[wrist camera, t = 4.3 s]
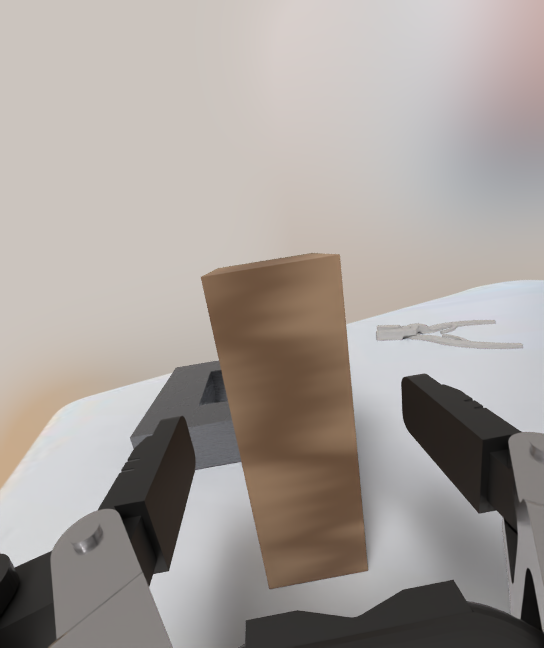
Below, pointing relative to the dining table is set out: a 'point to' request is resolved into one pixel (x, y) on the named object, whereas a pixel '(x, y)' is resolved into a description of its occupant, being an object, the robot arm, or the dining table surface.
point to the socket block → (196, 413)
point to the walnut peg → (292, 411)
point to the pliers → (413, 329)
